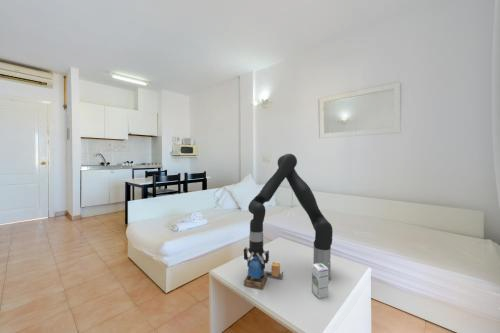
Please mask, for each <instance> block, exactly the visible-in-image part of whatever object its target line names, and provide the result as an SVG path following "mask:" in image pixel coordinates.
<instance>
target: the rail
mask: <svg viewBox="0 0 500 333" xmlns="http://www.w3.org/2000/svg"><path fill="white" fill-rule="evenodd" d="M264 273H265V274H266V270H264ZM267 278H270V279H273V280H275V279H276V280H279V281H280V280H281V281H283V278H284V271H281V272H280V274H279V277H275V276H271V274H267Z"/></svg>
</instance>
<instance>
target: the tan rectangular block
mask: <svg viewBox="0 0 500 333" xmlns="http://www.w3.org/2000/svg"><path fill="white" fill-rule="evenodd" d="M270 270H271V271H266V270H265V271H266V274H271V276H275V277H279V274H281V272H280V271H281V264H280V262H275V261H273V262H272V264H271V269H270Z"/></svg>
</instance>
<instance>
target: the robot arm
mask: <svg viewBox="0 0 500 333" xmlns="http://www.w3.org/2000/svg"><path fill="white" fill-rule="evenodd" d="M297 164H298V159H297V157H296V156H295V155H294V154H293V153H286V154H284V155H281V156H280V157H279V158H278V159H277V166H278V168H277V170H276V171H275V172H274V174H273V175H272V176H271V177H270V178H269V179H268V180H267V181H266V183H265V184H264V186H263V187H262V189H261V190H260V191H259V193H258V194H257V195H255V197H253V199H252V200H250V203H249V204H248V211H249V213H251V215H253V216H252V219H251V220H250V222H249V234H248V235H249V243H248V245H249V248H248V247H244V249H243V259H244V260H246V261H247V263H246V264H247V267H248V264H249V263H250V261H251V259H252V258H253V257H254V256H255V255H254V254H257V257H258V258H259V259H260V261H261V262H262V271H263V270H264V271H265V269H266V264H268V263H269V260H270V250H265V249H264V221H265V217H266V206H265V205H264V204H265V203H269V202H270V200H271V199H272V198H273V196H274V195H275V193H276V192H277V191H278V189H279V187H280V186H281V184H282V183H283V181H284V180H287V182H288V183H289V186H290V187H291V189H292V191H293V193H294V195H295V197H296V199H297V201H298V203H299V204H300V206H301V207H302V209H304V211H305V212H306V214H307V215H308V218H309V220H310V222H311V225H312V227H313V229H314V231H315V233H314V234H315V237H314V240H313V262H312V263H313V264H316V263H322V264H323V265H325V266H326V267H327V268H328V281H331V272H332V271H331V270H332V269H331V268H332V266H331V264H332V263H331V256H332V254H331V252H332V251H331V250H332V249H331V247H332V243H333V226H332V224H331V223H330V222H329V221H328V219H326V217H325V216H324V214H323V213H322V211H321V210H320V209H319V205H318V203H317V200H316V198H315V195H314V193H313V191H312V189H311V187H310V186H309V185H308V183H307V182H305V181H304V180H303V178H301V177H300V175H299V174H298V173H297V171H296V169H295V168H296V167H297ZM248 253H249V256H248ZM264 256H265V258H264Z"/></svg>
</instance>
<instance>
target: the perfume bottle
mask: <svg viewBox="0 0 500 333" xmlns="http://www.w3.org/2000/svg"><path fill="white" fill-rule="evenodd" d="M254 255H255V256H254V257H252V258H251V259H250V260H251V261H250V263H249V264H248V266H247V267H248V268H247V275H248V276H251V277H254V278H257V279H259V278H260V277H261V276H262V275H263V274H264V271H265V269H264V270H263V271H262V262H261V261H260V259H259V258H258V257H257V254H254Z"/></svg>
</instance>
